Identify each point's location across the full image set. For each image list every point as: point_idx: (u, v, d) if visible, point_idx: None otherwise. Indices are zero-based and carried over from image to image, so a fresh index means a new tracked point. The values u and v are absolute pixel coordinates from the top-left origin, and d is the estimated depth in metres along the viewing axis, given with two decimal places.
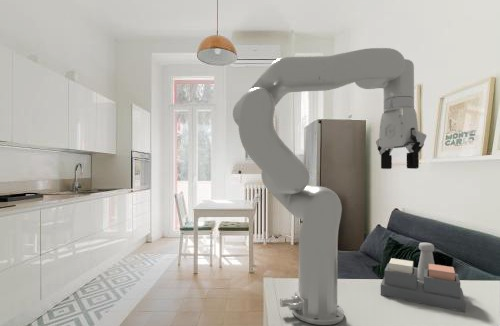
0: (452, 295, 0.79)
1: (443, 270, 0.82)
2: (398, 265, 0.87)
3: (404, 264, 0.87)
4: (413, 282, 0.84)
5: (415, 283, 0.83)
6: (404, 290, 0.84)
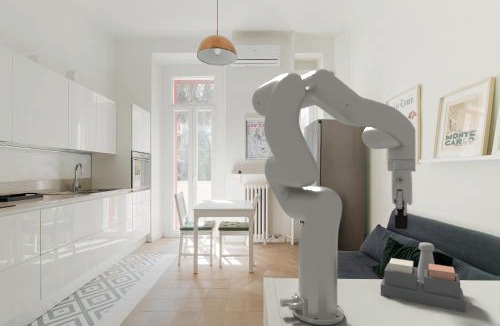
0: (452, 295, 0.79)
1: (443, 270, 0.82)
2: (398, 265, 0.87)
3: (404, 264, 0.87)
4: (413, 282, 0.84)
5: (415, 283, 0.83)
6: (404, 290, 0.84)
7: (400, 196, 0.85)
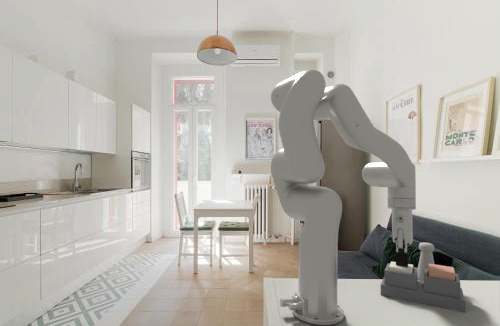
0: (452, 295, 0.79)
1: (443, 270, 0.82)
2: (398, 269, 0.87)
3: (404, 268, 0.87)
4: (413, 282, 0.84)
5: (415, 283, 0.83)
6: (404, 290, 0.84)
7: (401, 235, 0.85)
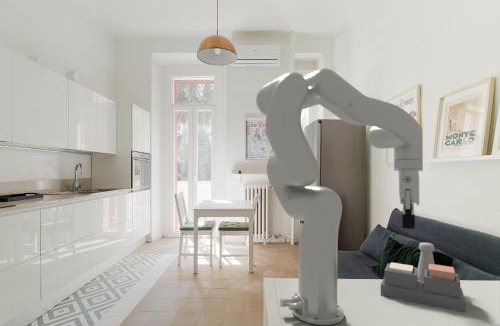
0: (452, 295, 0.79)
1: (443, 270, 0.82)
2: (398, 270, 0.87)
3: (404, 269, 0.87)
4: (413, 282, 0.84)
5: (415, 283, 0.83)
6: (404, 290, 0.84)
7: (408, 196, 0.85)
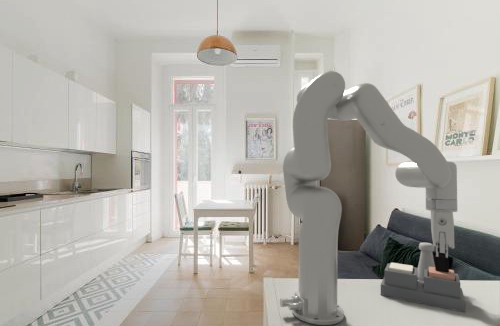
0: (452, 295, 0.79)
1: (443, 273, 0.82)
2: (398, 270, 0.87)
3: (404, 269, 0.87)
4: (413, 282, 0.84)
5: (415, 283, 0.83)
6: (404, 290, 0.84)
7: (442, 239, 0.80)
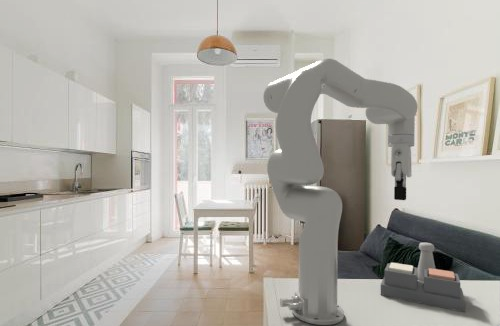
0: (452, 295, 0.79)
1: (443, 275, 0.82)
2: (398, 270, 0.87)
3: (404, 269, 0.87)
4: (413, 282, 0.84)
5: (415, 283, 0.83)
6: (404, 290, 0.84)
7: (399, 168, 0.91)
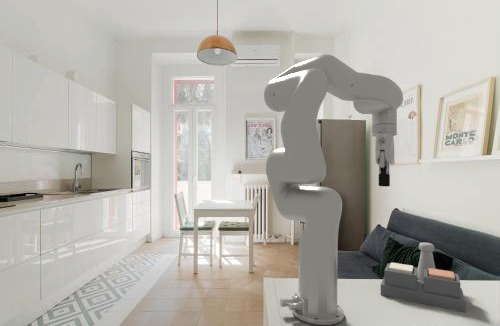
0: (452, 295, 0.79)
1: (443, 275, 0.82)
2: (398, 270, 0.87)
3: (404, 269, 0.87)
4: (413, 282, 0.84)
5: (415, 283, 0.83)
6: (404, 290, 0.84)
7: (382, 156, 0.96)
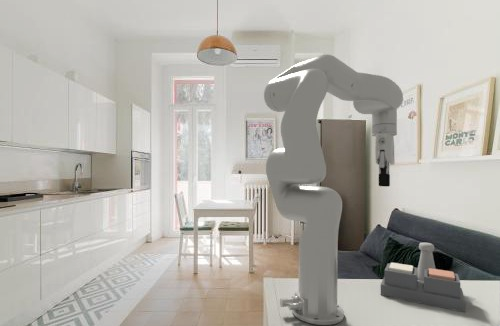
0: (452, 295, 0.79)
1: (443, 275, 0.82)
2: (398, 270, 0.87)
3: (404, 269, 0.87)
4: (413, 282, 0.84)
5: (415, 283, 0.83)
6: (404, 290, 0.84)
7: (382, 156, 0.96)
